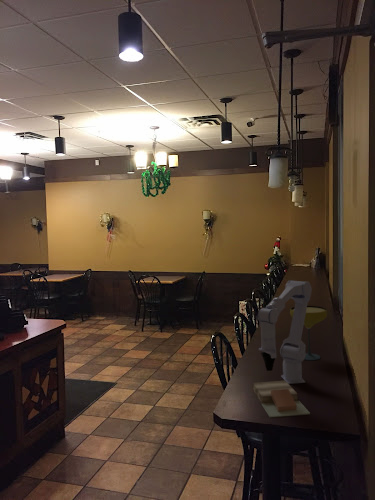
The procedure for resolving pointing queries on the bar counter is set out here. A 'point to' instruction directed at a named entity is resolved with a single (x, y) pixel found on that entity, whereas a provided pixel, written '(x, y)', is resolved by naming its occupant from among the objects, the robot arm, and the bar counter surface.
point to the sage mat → (273, 412)
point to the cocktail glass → (311, 318)
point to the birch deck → (265, 389)
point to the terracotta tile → (283, 400)
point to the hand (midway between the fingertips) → (269, 370)
